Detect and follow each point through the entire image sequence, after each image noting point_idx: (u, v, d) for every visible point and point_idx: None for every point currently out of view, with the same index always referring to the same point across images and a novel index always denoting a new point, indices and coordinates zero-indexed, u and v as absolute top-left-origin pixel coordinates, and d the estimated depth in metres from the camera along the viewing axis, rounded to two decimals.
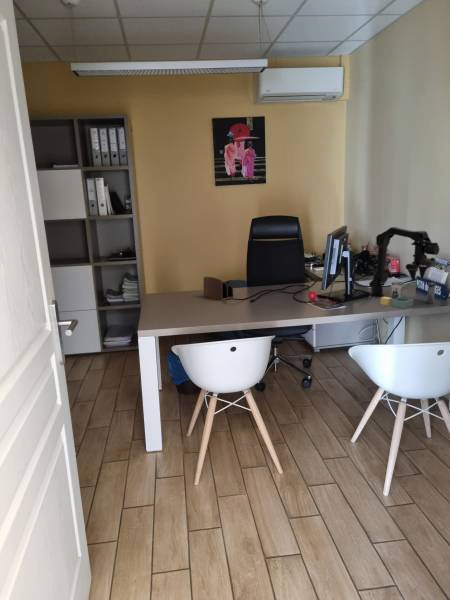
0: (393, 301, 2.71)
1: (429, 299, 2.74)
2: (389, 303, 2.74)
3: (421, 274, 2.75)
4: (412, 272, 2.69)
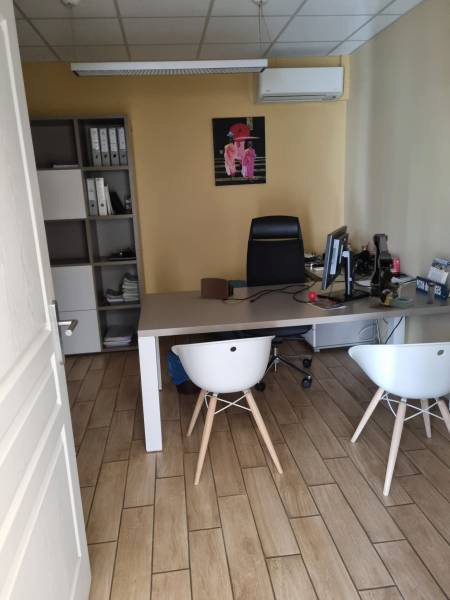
0: (393, 301, 2.71)
1: (429, 299, 2.74)
2: (390, 303, 2.74)
3: None
4: (381, 295, 2.73)
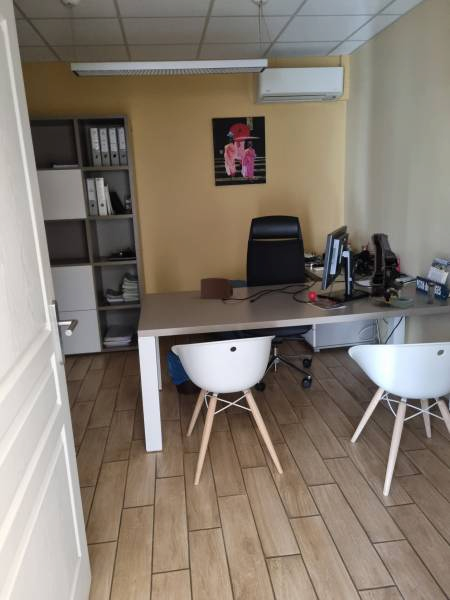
0: (393, 301, 2.71)
1: (429, 299, 2.74)
2: None
3: None
4: (386, 294, 2.75)
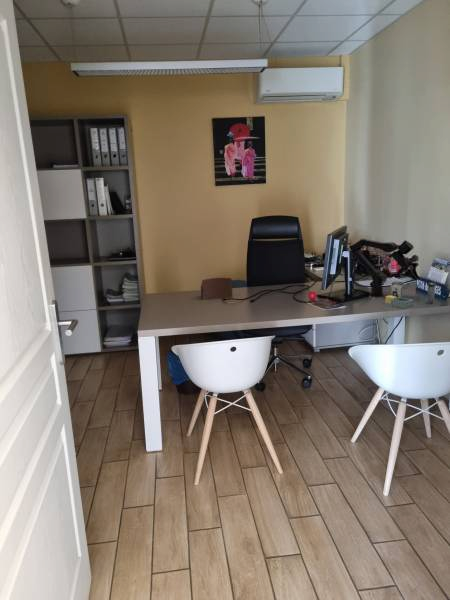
0: (393, 301, 2.71)
1: (429, 299, 2.74)
2: None
3: (415, 276, 2.80)
4: (409, 273, 2.78)
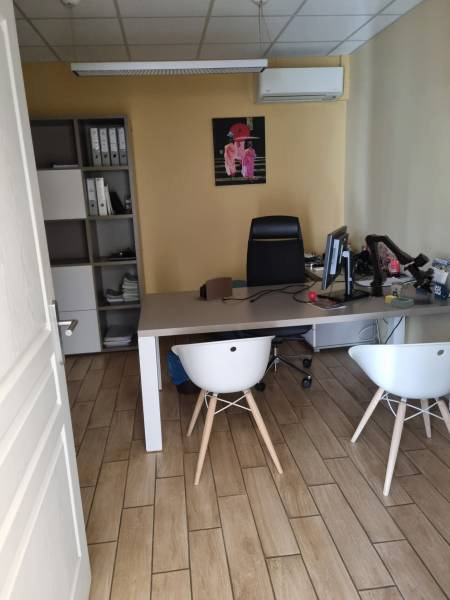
0: (393, 301, 2.71)
1: (429, 299, 2.74)
2: None
3: None
4: (425, 287, 2.73)
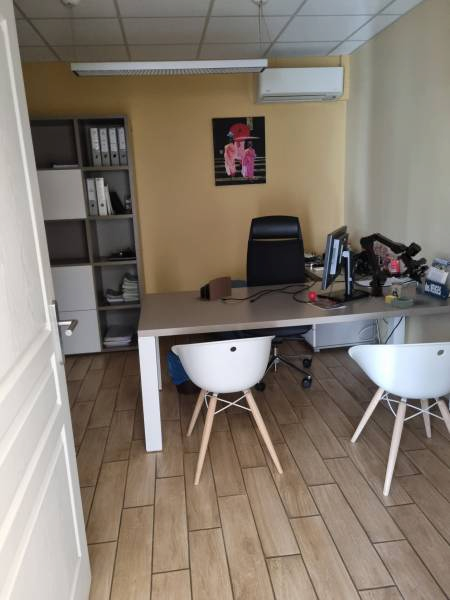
0: (393, 301, 2.71)
1: (419, 289, 2.70)
2: None
3: None
4: (415, 277, 2.69)
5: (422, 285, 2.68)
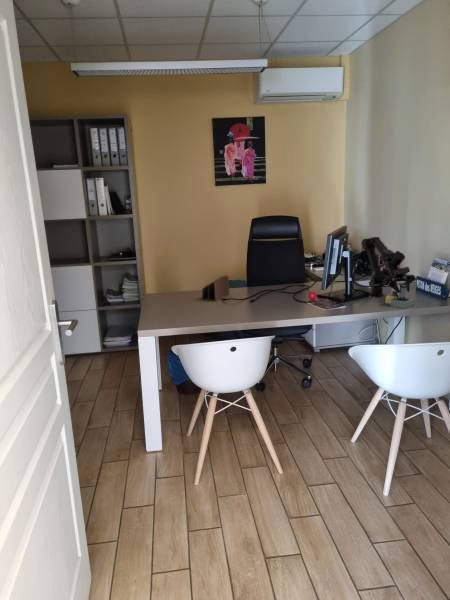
0: (393, 301, 2.71)
1: (399, 300, 2.70)
2: None
3: (407, 288, 2.70)
4: (394, 285, 2.70)
5: (402, 296, 2.69)
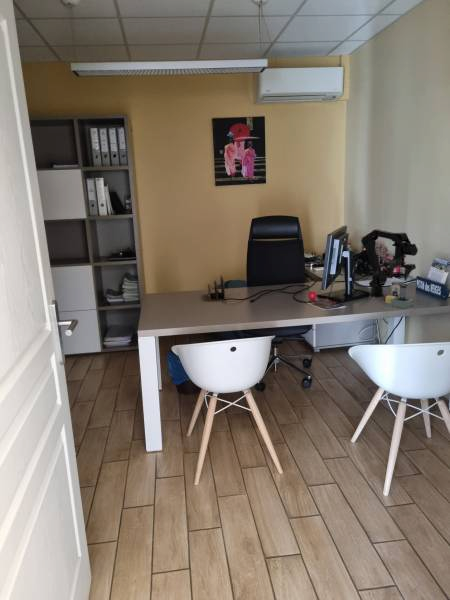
0: (393, 301, 2.71)
1: (399, 300, 2.70)
2: None
3: None
4: None
5: (402, 296, 2.69)
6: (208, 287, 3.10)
